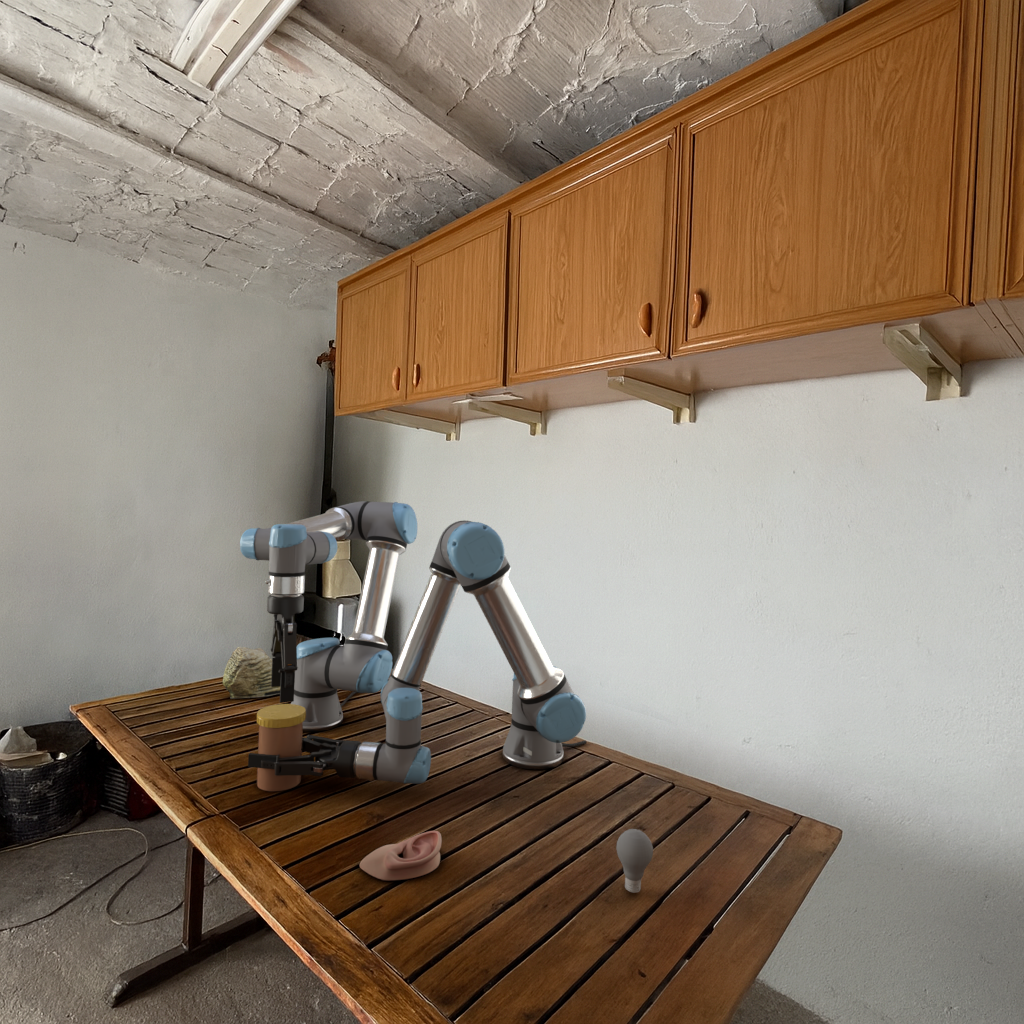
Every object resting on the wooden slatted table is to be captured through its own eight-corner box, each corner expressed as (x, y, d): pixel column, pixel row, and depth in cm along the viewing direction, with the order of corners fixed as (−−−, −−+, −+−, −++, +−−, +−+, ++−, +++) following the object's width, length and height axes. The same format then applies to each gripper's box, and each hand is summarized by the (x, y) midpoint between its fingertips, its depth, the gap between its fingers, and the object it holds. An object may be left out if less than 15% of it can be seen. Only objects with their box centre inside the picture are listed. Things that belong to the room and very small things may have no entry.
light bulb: (610, 879, 108) (613, 822, 108) (644, 879, 109) (647, 822, 109) (619, 902, 102) (622, 840, 102) (655, 901, 103) (658, 840, 103)
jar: (263, 772, 144) (266, 706, 144) (304, 772, 145) (307, 706, 144) (251, 791, 135) (253, 720, 134) (295, 791, 136) (298, 720, 135)
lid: (264, 711, 144) (264, 703, 144) (310, 712, 145) (310, 704, 145) (250, 728, 134) (250, 719, 134) (299, 728, 135) (300, 719, 135)
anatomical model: (352, 851, 106) (379, 818, 118) (351, 875, 106) (379, 839, 118) (427, 864, 104) (448, 829, 115) (426, 888, 104) (447, 850, 115)
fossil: (218, 695, 195) (220, 647, 195) (278, 685, 208) (279, 640, 207) (228, 703, 189) (230, 653, 188) (289, 692, 201) (290, 645, 201)
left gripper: (260, 587, 147) (256, 680, 148) (276, 603, 127) (272, 712, 127) (293, 586, 151) (290, 677, 151) (314, 602, 130) (310, 707, 131)
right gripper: (339, 800, 127) (233, 789, 129) (374, 756, 149) (283, 748, 151) (340, 763, 127) (234, 753, 129) (375, 725, 149) (284, 717, 151)
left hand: (282, 693), depth 139 cm, fingers open, 11 cm apart
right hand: (260, 750), depth 140 cm, fingers closed on jar, 9 cm apart
